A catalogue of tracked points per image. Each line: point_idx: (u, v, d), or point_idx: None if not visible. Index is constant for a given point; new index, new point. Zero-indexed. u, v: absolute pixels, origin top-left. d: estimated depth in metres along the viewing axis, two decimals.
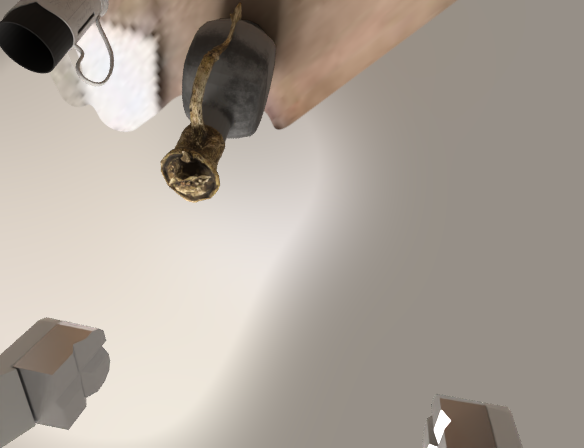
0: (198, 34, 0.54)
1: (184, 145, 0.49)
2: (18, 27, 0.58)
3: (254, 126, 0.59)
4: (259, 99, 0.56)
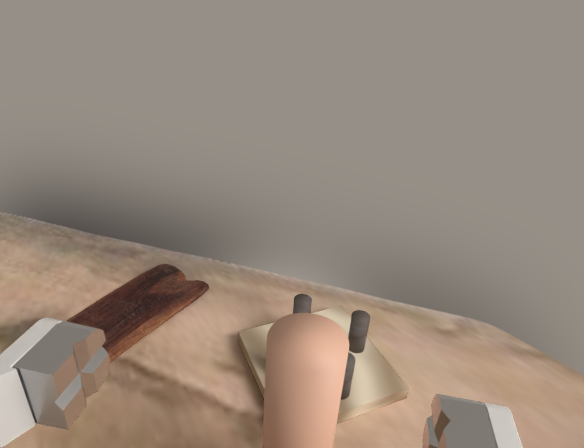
0: None
1: None
2: None
3: None
4: None
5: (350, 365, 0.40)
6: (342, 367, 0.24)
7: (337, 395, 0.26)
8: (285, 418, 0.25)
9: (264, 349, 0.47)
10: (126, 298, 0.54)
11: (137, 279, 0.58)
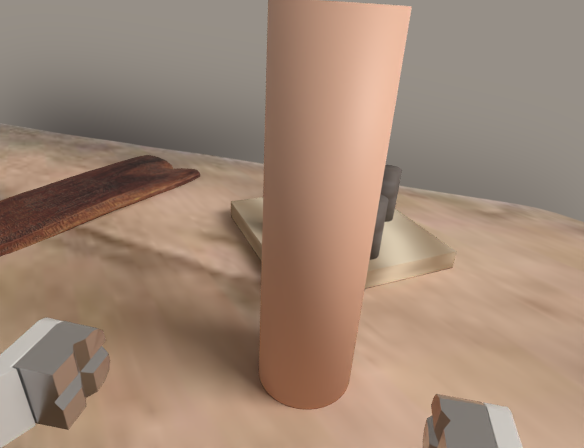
0: None
1: None
2: None
3: None
4: None
5: (382, 203, 0.29)
6: (402, 27, 0.14)
7: (390, 100, 0.15)
8: (301, 137, 0.15)
9: None
10: (96, 178, 0.44)
11: (113, 164, 0.47)
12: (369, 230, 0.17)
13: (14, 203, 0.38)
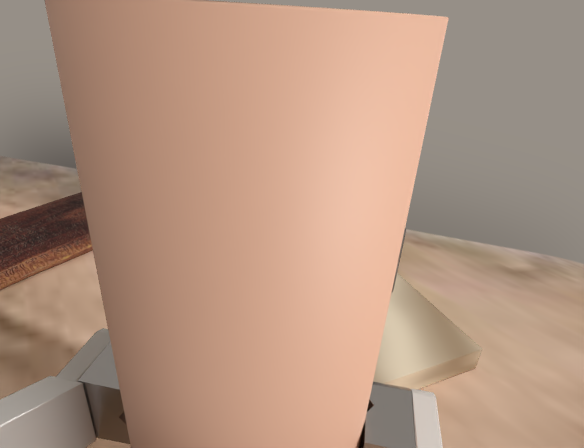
0: None
1: None
2: None
3: None
4: None
5: None
6: (424, 78, 0.05)
7: (389, 259, 0.06)
8: (154, 359, 0.06)
9: None
10: (24, 224, 0.34)
11: (52, 202, 0.38)
12: None
13: None
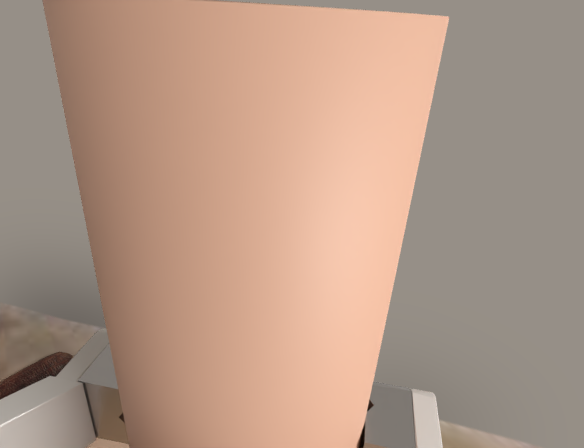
0: None
1: None
2: None
3: None
4: None
5: None
6: (425, 78, 0.05)
7: (389, 260, 0.06)
8: (153, 360, 0.06)
9: None
10: None
11: None
12: None
13: None
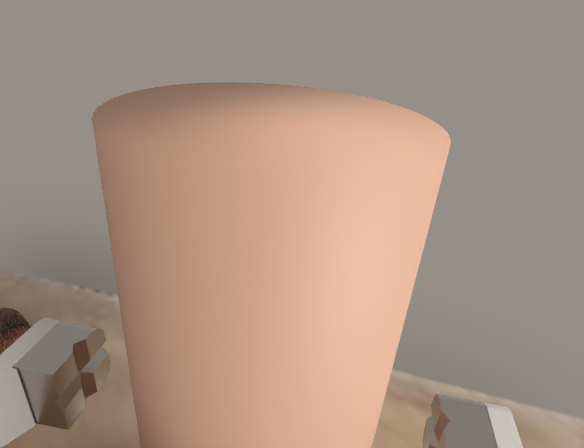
0: None
1: None
2: None
3: None
4: None
5: None
6: (428, 202, 0.05)
7: (393, 343, 0.06)
8: (180, 432, 0.06)
9: None
10: None
11: None
12: None
13: None
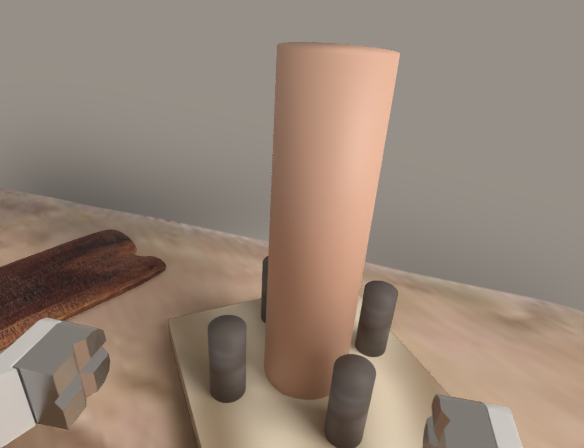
0: None
1: None
2: None
3: None
4: None
5: (366, 383, 0.19)
6: (391, 73, 0.16)
7: (381, 133, 0.17)
8: (304, 164, 0.17)
9: None
10: (24, 274, 0.33)
11: (58, 247, 0.37)
12: (363, 242, 0.20)
13: None
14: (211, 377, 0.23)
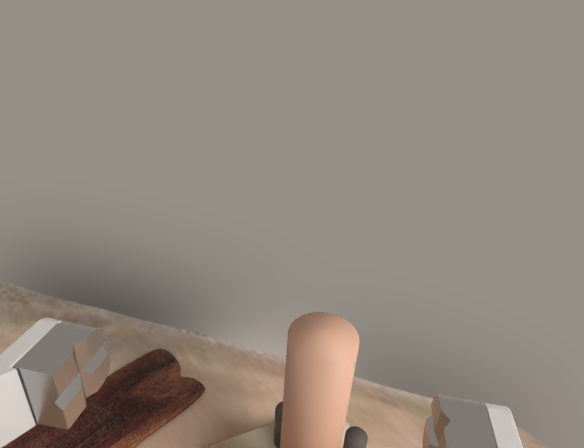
0: None
1: None
2: None
3: None
4: None
5: None
6: (353, 359, 0.28)
7: (349, 383, 0.29)
8: (304, 403, 0.29)
9: None
10: (103, 401, 0.45)
11: (123, 371, 0.49)
12: (340, 432, 0.32)
13: None
14: None
